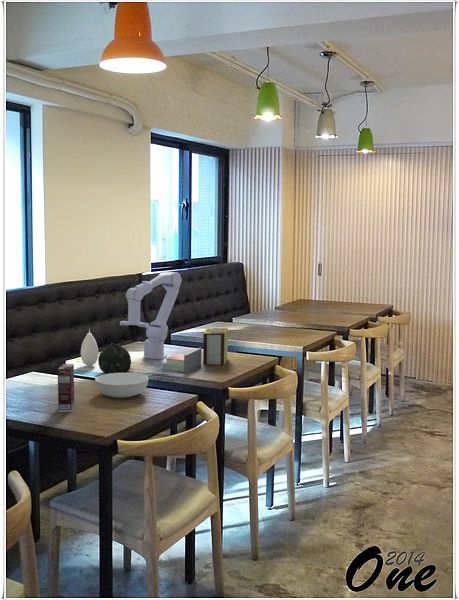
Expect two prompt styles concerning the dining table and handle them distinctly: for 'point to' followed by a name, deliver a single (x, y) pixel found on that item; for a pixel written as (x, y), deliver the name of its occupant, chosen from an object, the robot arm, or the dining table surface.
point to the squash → (114, 359)
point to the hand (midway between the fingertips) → (134, 341)
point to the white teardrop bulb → (89, 350)
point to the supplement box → (66, 388)
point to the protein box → (215, 346)
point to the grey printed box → (186, 362)
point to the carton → (176, 359)
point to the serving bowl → (121, 384)
